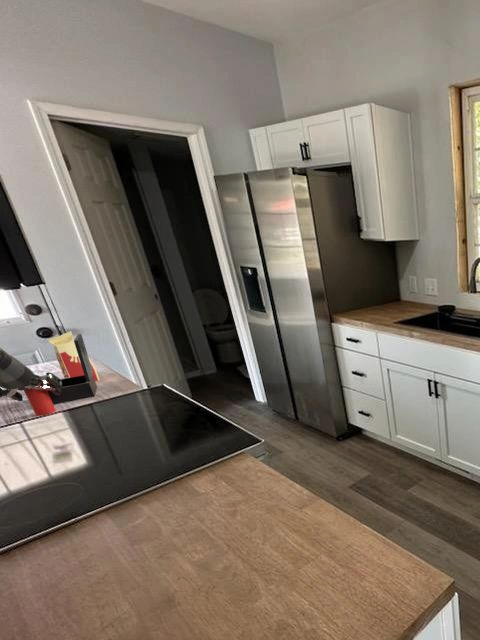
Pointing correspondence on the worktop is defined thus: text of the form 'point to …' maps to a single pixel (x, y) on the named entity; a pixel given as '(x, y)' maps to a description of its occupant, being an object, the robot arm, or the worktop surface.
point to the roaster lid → (83, 357)
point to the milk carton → (69, 356)
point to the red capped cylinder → (40, 401)
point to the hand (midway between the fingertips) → (39, 395)
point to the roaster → (74, 389)
